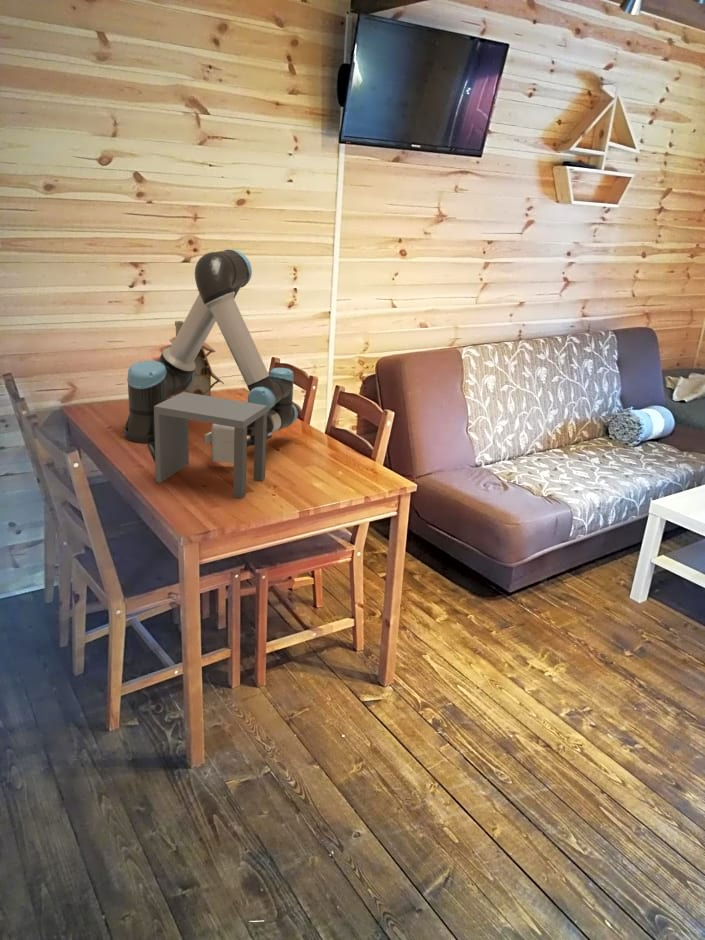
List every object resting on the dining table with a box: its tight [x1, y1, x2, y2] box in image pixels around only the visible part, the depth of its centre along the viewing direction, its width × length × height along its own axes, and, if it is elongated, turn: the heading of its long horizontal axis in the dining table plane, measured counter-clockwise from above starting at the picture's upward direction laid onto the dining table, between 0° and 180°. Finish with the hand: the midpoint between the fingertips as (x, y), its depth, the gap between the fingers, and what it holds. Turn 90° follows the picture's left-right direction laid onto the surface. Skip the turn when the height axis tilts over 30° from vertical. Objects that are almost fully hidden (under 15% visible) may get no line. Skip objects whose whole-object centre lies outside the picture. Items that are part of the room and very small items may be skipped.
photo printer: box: [210, 423, 248, 464], centre depth 210 cm, size 10×4×12 cm, turn 91°
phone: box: [147, 442, 155, 462], centre depth 222 cm, size 8×1×15 cm
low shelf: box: [154, 392, 267, 499], centre depth 201 cm, size 26×16×22 cm, turn 74°
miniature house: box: [169, 320, 224, 397], centre depth 259 cm, size 18×24×30 cm
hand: (220, 443), depth 206 cm, fingers closed on photo printer, 10 cm apart
